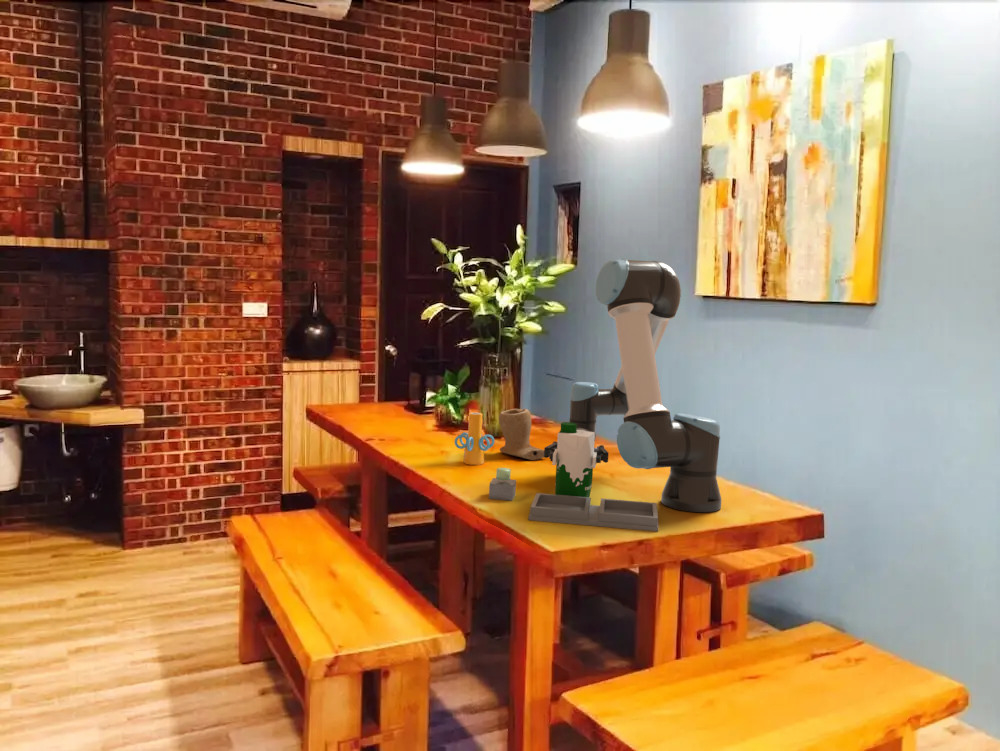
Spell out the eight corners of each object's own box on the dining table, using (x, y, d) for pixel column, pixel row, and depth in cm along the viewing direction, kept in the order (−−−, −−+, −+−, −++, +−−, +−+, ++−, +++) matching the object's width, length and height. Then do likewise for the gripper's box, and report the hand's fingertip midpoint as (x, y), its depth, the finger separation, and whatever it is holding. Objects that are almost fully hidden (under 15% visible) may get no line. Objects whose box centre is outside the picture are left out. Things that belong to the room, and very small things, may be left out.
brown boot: (489, 453, 278) (491, 406, 276) (519, 450, 285) (521, 404, 283) (519, 463, 266) (522, 414, 264) (549, 459, 273) (552, 412, 271)
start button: (511, 477, 227) (511, 468, 227) (509, 480, 223) (509, 471, 223) (497, 476, 228) (497, 467, 227) (495, 479, 224) (495, 470, 224)
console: (515, 494, 229) (516, 479, 228) (512, 500, 223) (513, 485, 222) (492, 493, 229) (493, 478, 229) (488, 498, 224) (489, 483, 223)
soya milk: (560, 495, 230) (564, 420, 228) (593, 500, 227) (598, 423, 225) (550, 503, 222) (555, 425, 219) (585, 508, 219) (590, 429, 216)
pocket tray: (656, 514, 216) (657, 502, 216) (658, 531, 202) (659, 518, 202) (535, 504, 221) (535, 492, 220) (528, 519, 206) (529, 507, 206)
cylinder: (457, 467, 257) (459, 416, 255) (450, 459, 267) (452, 410, 265) (498, 466, 260) (500, 416, 258) (489, 458, 270) (491, 410, 268)
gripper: (618, 460, 240) (617, 479, 218) (539, 454, 243) (529, 472, 221) (620, 433, 239) (619, 449, 217) (540, 427, 242) (531, 443, 220)
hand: (574, 461), depth 219 cm, fingers closed on soya milk, 9 cm apart
